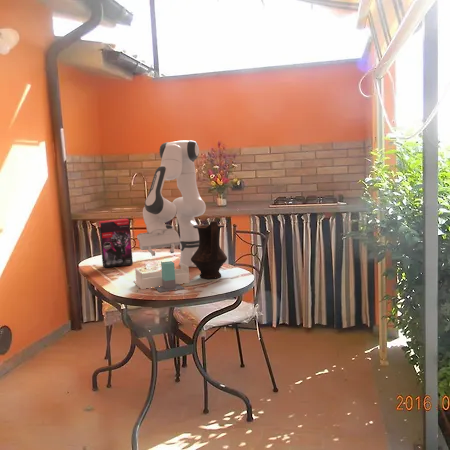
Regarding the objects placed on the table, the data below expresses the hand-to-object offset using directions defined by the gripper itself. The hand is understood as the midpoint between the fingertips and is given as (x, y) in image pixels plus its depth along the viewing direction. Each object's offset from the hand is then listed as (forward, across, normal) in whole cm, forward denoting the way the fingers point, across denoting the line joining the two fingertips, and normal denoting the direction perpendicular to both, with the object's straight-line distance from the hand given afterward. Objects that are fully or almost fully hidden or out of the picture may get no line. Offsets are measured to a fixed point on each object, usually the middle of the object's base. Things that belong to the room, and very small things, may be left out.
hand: (163, 253), depth 245 cm
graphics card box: (-31, -13, +53) cm, 63 cm away
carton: (+7, -1, +15) cm, 16 cm away
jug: (+10, +24, +12) cm, 29 cm away
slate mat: (+17, -1, +4) cm, 18 cm away
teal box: (+17, -1, +4) cm, 17 cm away
